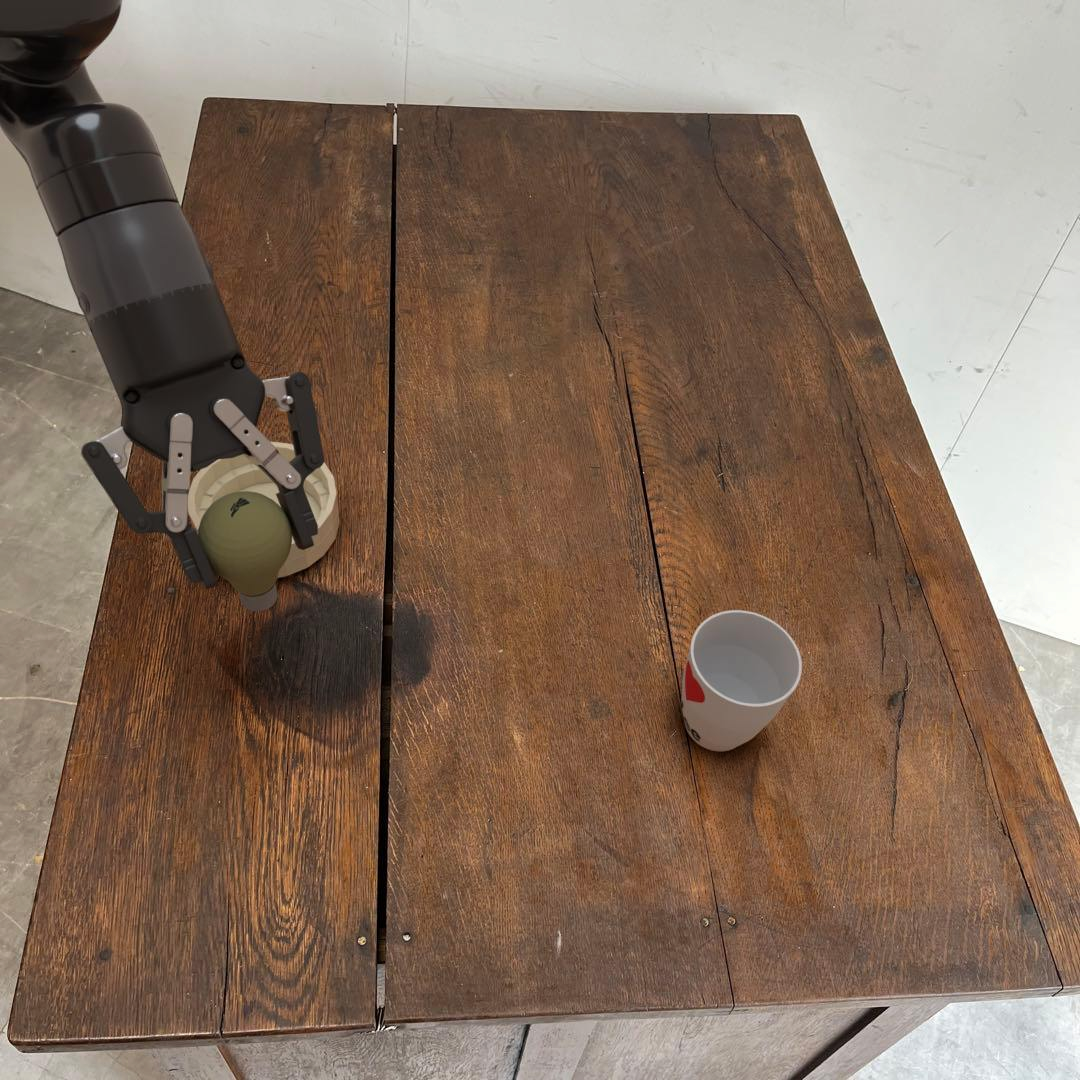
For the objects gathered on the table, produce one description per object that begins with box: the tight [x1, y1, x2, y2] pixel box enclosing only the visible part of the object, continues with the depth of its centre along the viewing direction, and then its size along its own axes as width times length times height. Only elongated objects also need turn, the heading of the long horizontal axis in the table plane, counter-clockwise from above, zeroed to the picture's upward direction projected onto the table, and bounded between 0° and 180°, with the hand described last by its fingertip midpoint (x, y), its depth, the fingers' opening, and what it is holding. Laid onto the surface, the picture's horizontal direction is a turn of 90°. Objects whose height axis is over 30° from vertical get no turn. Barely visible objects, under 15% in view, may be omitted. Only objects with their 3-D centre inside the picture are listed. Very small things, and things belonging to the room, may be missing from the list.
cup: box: [680, 609, 803, 752], centre depth 78 cm, size 8×8×10 cm
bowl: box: [188, 441, 341, 579], centre depth 89 cm, size 12×12×4 cm
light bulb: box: [198, 491, 292, 612], centre depth 65 cm, size 6×6×10 cm
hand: (258, 565), depth 63 cm, fingers closed on light bulb, 5 cm apart
